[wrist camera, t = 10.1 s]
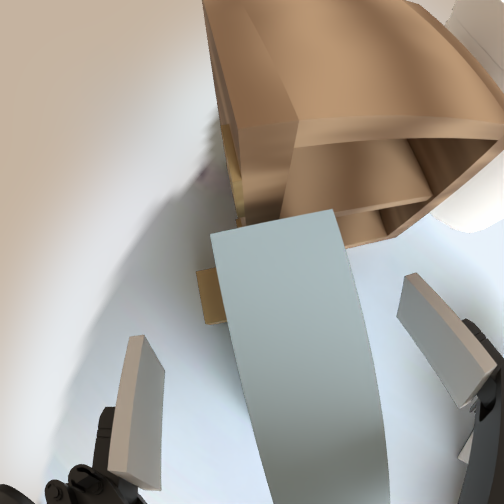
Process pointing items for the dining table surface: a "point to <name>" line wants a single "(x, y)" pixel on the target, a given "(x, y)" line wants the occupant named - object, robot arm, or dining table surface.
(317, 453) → the door
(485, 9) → the canister
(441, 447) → the dining table surface
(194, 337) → the dining table surface
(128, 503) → the robot arm
